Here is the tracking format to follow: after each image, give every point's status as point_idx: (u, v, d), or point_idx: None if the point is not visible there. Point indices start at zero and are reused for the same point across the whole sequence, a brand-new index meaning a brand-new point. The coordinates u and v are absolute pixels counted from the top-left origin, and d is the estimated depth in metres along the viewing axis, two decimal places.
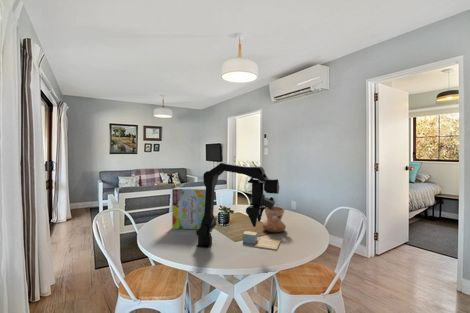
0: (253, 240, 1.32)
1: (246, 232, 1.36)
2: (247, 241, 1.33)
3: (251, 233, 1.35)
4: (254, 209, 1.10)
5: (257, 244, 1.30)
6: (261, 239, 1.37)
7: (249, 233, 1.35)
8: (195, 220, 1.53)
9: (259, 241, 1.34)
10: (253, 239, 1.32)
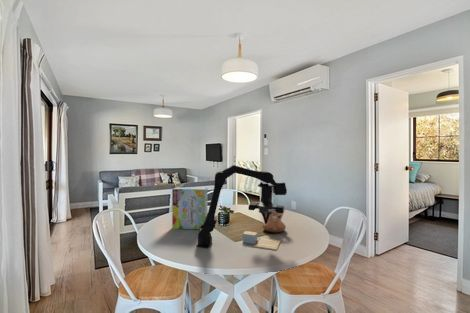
0: (253, 240, 1.32)
1: (246, 232, 1.36)
2: (247, 241, 1.33)
3: (251, 233, 1.35)
4: (249, 205, 1.34)
5: (257, 244, 1.30)
6: (261, 239, 1.37)
7: (249, 233, 1.35)
8: (195, 220, 1.53)
9: (259, 241, 1.34)
10: (253, 239, 1.32)
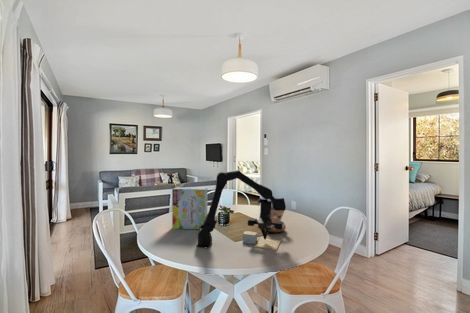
0: (253, 240, 1.32)
1: (246, 232, 1.36)
2: (247, 241, 1.33)
3: (251, 233, 1.35)
4: None
5: (257, 244, 1.30)
6: (261, 239, 1.37)
7: (249, 233, 1.35)
8: (195, 220, 1.53)
9: (259, 241, 1.34)
10: (253, 239, 1.32)
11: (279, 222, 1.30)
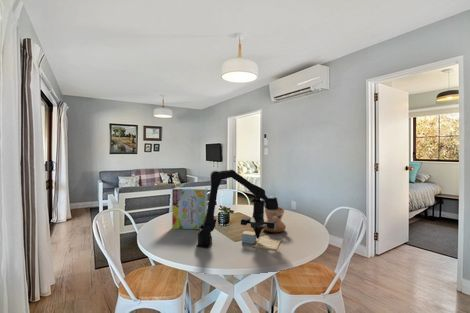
0: (252, 240, 1.32)
1: (245, 232, 1.36)
2: (246, 241, 1.33)
3: (250, 233, 1.35)
4: None
5: (257, 244, 1.30)
6: (261, 239, 1.37)
7: (248, 233, 1.35)
8: (195, 220, 1.53)
9: (259, 241, 1.34)
10: (252, 239, 1.32)
11: (272, 221, 1.31)
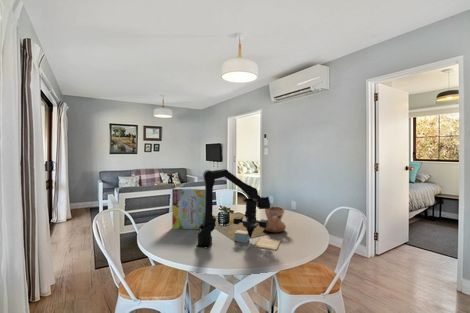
0: (245, 239, 1.34)
1: (238, 231, 1.38)
2: (239, 240, 1.35)
3: (242, 232, 1.36)
4: None
5: (257, 244, 1.30)
6: (261, 239, 1.37)
7: (241, 232, 1.36)
8: (195, 220, 1.53)
9: (259, 241, 1.34)
10: (245, 238, 1.34)
11: (264, 220, 1.32)
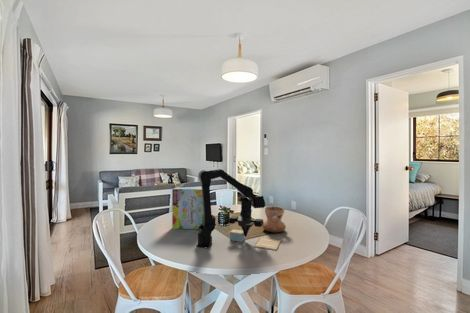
0: (240, 238, 1.35)
1: (233, 230, 1.39)
2: (234, 239, 1.36)
3: (238, 231, 1.37)
4: None
5: (257, 244, 1.30)
6: (261, 239, 1.37)
7: (236, 231, 1.37)
8: (195, 220, 1.53)
9: (259, 241, 1.34)
10: (240, 237, 1.35)
11: (259, 220, 1.33)
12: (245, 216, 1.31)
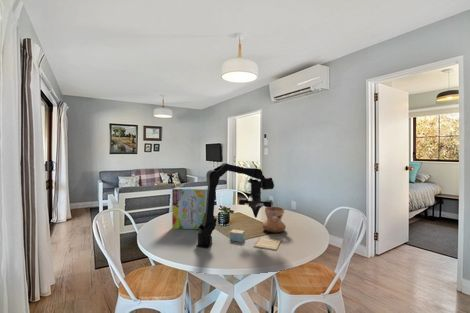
0: (240, 238, 1.35)
1: (233, 230, 1.39)
2: (234, 239, 1.36)
3: (238, 231, 1.37)
4: None
5: (257, 244, 1.30)
6: (261, 239, 1.37)
7: (236, 231, 1.37)
8: (195, 220, 1.53)
9: (259, 241, 1.34)
10: (240, 237, 1.35)
11: (268, 200, 1.36)
12: (255, 197, 1.34)
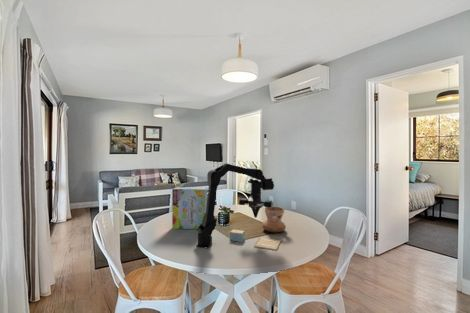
0: (240, 238, 1.35)
1: (233, 230, 1.39)
2: (234, 239, 1.36)
3: (238, 231, 1.37)
4: None
5: (257, 244, 1.30)
6: (261, 239, 1.37)
7: (236, 231, 1.37)
8: (195, 220, 1.53)
9: (259, 241, 1.34)
10: (240, 237, 1.35)
11: (268, 201, 1.37)
12: (255, 197, 1.35)
